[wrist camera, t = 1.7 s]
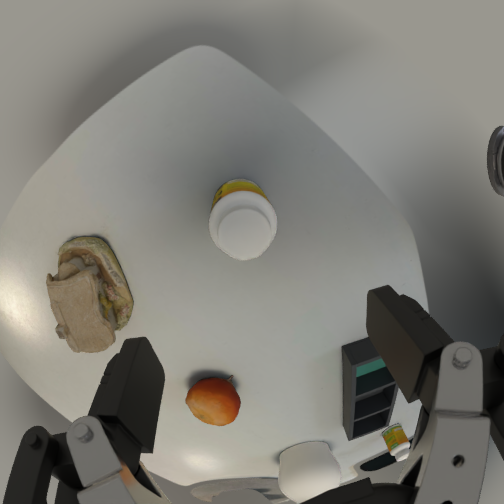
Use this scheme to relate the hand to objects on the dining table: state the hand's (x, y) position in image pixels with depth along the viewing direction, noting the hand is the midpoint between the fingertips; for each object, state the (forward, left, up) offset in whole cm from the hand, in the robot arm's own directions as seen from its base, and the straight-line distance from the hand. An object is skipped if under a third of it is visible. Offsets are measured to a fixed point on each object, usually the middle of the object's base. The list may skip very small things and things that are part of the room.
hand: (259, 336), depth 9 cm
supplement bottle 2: (-23, +63, -22) cm, 71 cm away
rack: (-14, +37, -22) cm, 46 cm away
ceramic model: (+21, +5, -22) cm, 31 cm away
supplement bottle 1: (0, 0, -22) cm, 22 cm away
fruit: (+11, +26, -22) cm, 36 cm away
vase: (0, +59, -22) cm, 63 cm away
